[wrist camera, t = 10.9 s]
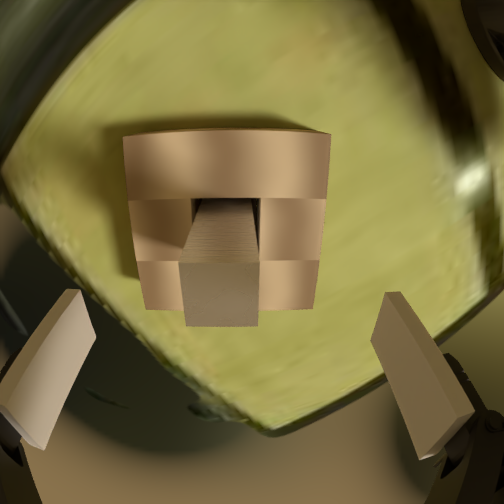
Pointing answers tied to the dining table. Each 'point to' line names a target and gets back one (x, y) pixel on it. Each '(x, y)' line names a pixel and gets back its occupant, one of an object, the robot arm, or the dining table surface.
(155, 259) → the socket block
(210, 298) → the square bit
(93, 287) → the dining table surface
